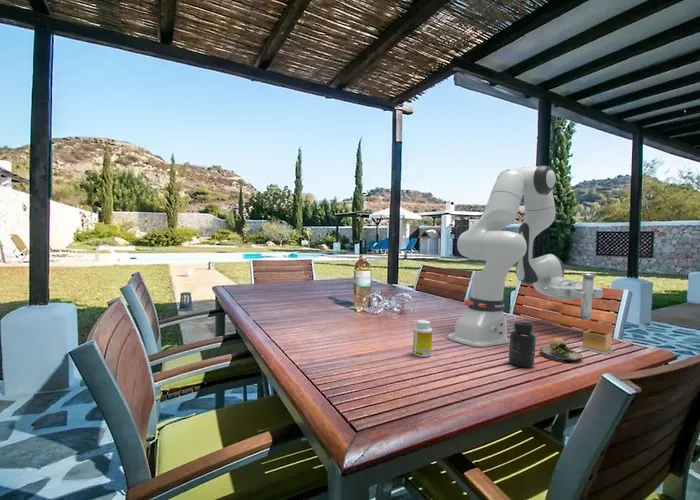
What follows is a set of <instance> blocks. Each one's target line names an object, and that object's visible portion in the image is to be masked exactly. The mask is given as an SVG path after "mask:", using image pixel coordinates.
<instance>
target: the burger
mask: <svg viewBox="0 0 700 500" xmlns="http://www.w3.org/2000/svg"><path fill="white" fill-rule="evenodd" d="M552 335H553V338H552V339H551V340H550V341H549V346H541V347H539V350H540V351H539V352H538V353H539V355H540V356H541V357H543V358H545V359H547V360H549V361H553V362H559V363H564V362H565V361H577V360H579V359H582V358H583V357H584V356H583V355H582V353H579V352H577V351H575V350H573V349H570V348H569V346H567V344H565V343H564V342H563V341H564V339H563V338H561V337H555V336H554V334H552Z"/></svg>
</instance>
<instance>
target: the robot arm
mask: <svg viewBox="0 0 700 500" xmlns="http://www.w3.org/2000/svg"><path fill="white" fill-rule="evenodd" d="M556 182H557V175H556V172H555V170H554V169H553V168H552V167H551V166H548V165H538V166H522V167H521V166H520V167H517V168H512V169H506V170H504V171H502V172H500V173H499V174H498V176H497V178H496V181H495V182H494V184H493V187H492V189H491V192H490V194H489V197H488V201H487V203H486V206H485V208H484V210H483V213H482V214H481V216H480V218H478V220H477V221H476V222H475V223H474V224H473V225H472V226H471V227H470V228H468V229H467V230H466V231H464V232H462V233H461V234H459V237H458V239H457V242H456V246H457V251H458V252H459V254H460V255H461V256H463V257H464V258H465V257H466V258H468V259H471V260H478V261H479V260H481V261H485V264H484V267H483V268H482V270H481V269H480V270H479V271H477V272H476V273H474V274H473V276H472V278H471V292H470V297H469V299H464V300H463V301H464V302H463V305H465V306H467V308H466V310H465V311H464V312H463V313H462V314H461V315H460V316H459V317H458V319H457V320H456V321H455V326H454V331H453V332H450V333H449V334H447V337H446V338H447V339H449V340H450V341H453V342H456V343H460V344H463V345H467V346H470V347H471V346H472V347H476V348H485V347H486V348H487V347H492V346H497V345H504V344H505V345H506V344H510V338H508V331H507V330H508V324H507V323H508V322H507V318H506V315H505V314H504V310H505V300H504V291H505V285H506V284H505V283H506V278H507V276H508V273H509V271H510V270H511V269H512V267H513V266H515V275H516V278H517V279H518V280H519V281H520V282H522V283H524V284H526V285H533V288H534V289H535V291H537V292H538V293H539V294H541V295H543V296H547V297H552V298H554V299H557V300H561V301H566V302H568V301H572V300H576V299H581V297H584V296H585V293H584V292H582V284H583V281H576V280H573V279H571V278H570V279H569V278H565V277H564V275H565V266H564V263H563V261H562V260H561V259H560V258H559V257H558V256H557V255H555V254H553V253H548V254H544V255H540V256H538V257H535V258H534V257H533V258H532V255H533V253H532V252H533V241H535V238H536V237H537V236H538V235H540V234H541V233H542V232H543V231H544V230H546V229H548V228H549V227H550V226H551V225H552V224H553V223H554V221H555V219H556V205H555V204H556V203H555V198H554V194H553V190H554V188H555V186H556ZM523 196H524V197H523ZM522 198H523V201H524V202H523V203H524V219H523V222H522V223H521V224H520V226H519V228H518V232H514V231H510V230H509V231H508V230H503V229H505V228H507V227H508V226H510V225H512V224H513V223H514V222H515V220H516V218H517V214H518V212H519V209H520V206H521V202H522ZM515 264H516V265H515ZM603 291H604V289H602V288H601V287H598V286H595V285H593V296H592V299H602V298H603V296H604V295H603V294H604V292H603Z"/></svg>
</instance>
